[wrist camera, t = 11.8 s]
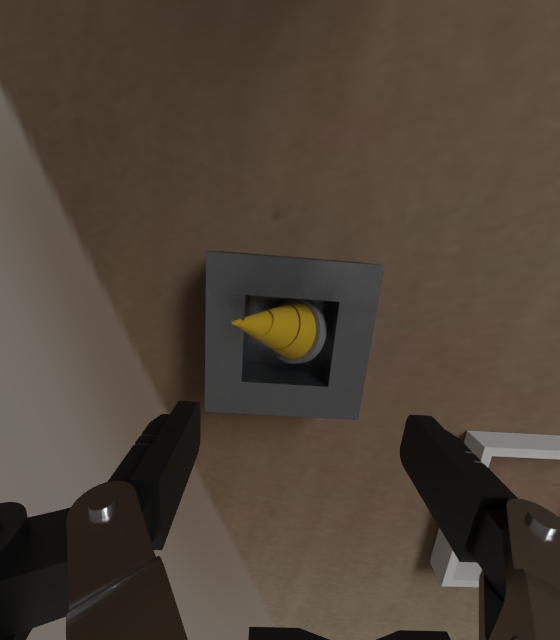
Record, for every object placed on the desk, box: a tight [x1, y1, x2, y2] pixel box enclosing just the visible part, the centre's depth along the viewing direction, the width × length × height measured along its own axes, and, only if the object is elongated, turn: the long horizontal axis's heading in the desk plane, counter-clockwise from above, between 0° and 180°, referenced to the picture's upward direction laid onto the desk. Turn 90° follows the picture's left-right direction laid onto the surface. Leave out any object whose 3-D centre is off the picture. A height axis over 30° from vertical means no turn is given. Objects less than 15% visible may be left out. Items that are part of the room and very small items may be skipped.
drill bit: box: [232, 298, 327, 364], centre depth 21 cm, size 5×5×10 cm
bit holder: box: [205, 251, 384, 420], centre depth 23 cm, size 12×12×6 cm
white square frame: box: [430, 431, 560, 587], centre depth 30 cm, size 19×17×2 cm
